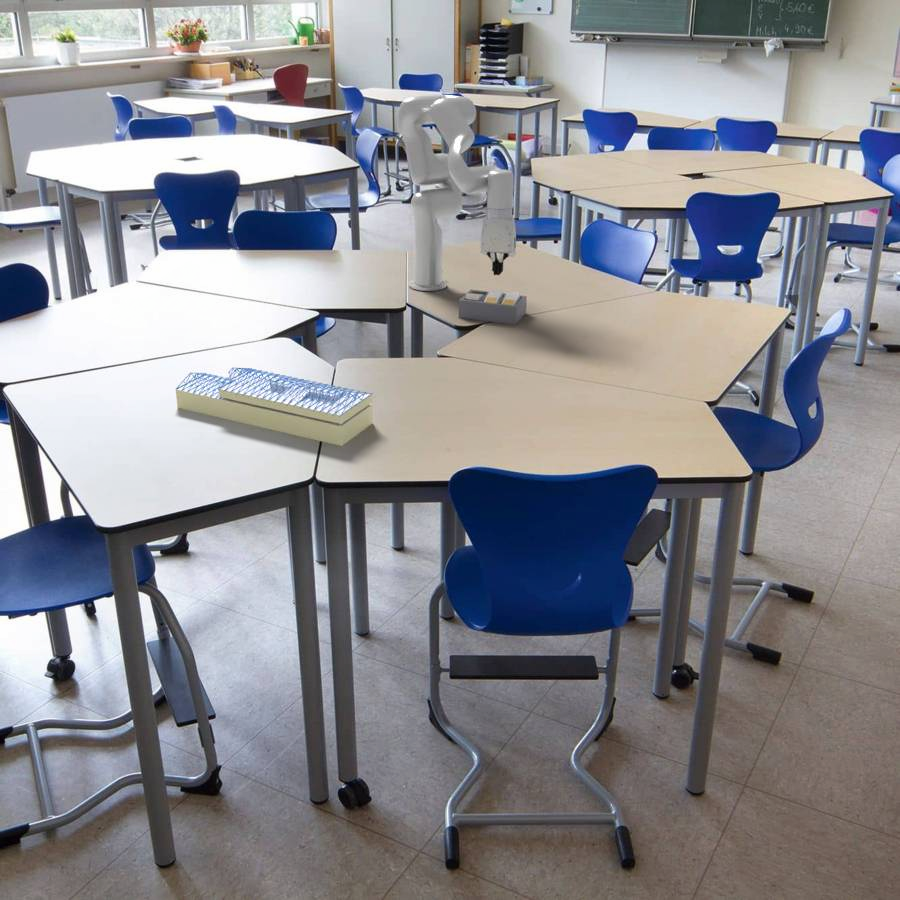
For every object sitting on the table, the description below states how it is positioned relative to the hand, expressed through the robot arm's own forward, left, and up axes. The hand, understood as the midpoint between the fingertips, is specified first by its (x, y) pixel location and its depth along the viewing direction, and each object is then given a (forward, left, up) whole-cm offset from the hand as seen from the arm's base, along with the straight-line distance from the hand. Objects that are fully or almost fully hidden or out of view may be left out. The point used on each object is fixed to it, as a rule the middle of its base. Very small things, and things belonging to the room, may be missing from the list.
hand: (497, 274), depth 297 cm
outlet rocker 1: (+2, -6, -8) cm, 10 cm away
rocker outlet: (+2, +5, -8) cm, 10 cm away
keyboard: (+95, -27, -13) cm, 99 cm away
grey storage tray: (+2, 0, -13) cm, 13 cm away
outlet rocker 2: (+2, 0, -8) cm, 8 cm away
